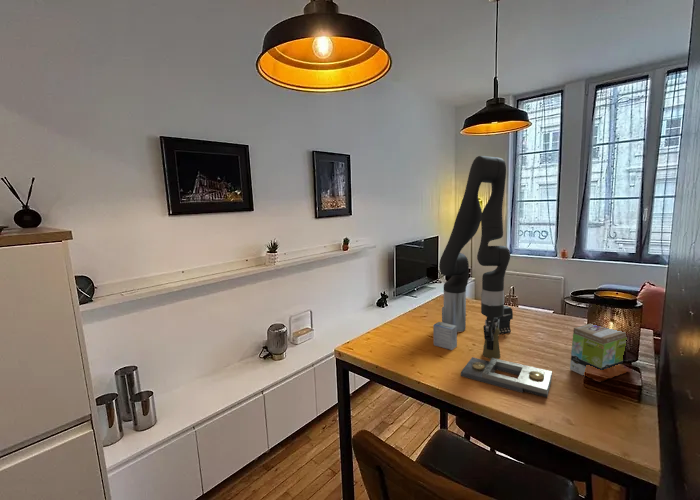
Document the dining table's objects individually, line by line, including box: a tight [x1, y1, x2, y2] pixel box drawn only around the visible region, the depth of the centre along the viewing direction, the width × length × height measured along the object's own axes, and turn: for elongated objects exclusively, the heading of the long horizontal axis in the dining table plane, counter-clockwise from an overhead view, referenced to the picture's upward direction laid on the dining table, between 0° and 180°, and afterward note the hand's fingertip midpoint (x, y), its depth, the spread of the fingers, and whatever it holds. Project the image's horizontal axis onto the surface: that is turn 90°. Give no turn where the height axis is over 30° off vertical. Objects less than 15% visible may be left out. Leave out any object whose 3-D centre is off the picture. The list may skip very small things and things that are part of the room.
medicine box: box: [432, 321, 458, 351], centre depth 135 cm, size 8×4×9 cm, turn 47°
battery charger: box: [499, 305, 514, 335], centre depth 144 cm, size 7×4×11 cm, turn 103°
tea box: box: [569, 323, 627, 376], centre depth 111 cm, size 15×10×15 cm, turn 114°
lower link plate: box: [460, 356, 524, 394], centre depth 112 cm, size 18×12×2 cm, turn 54°
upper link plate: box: [482, 358, 553, 398], centre depth 108 cm, size 18×12×4 cm
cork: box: [482, 327, 501, 360], centre depth 125 cm, size 6×6×11 cm
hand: (491, 346), depth 126 cm, fingers closed on cork, 4 cm apart
